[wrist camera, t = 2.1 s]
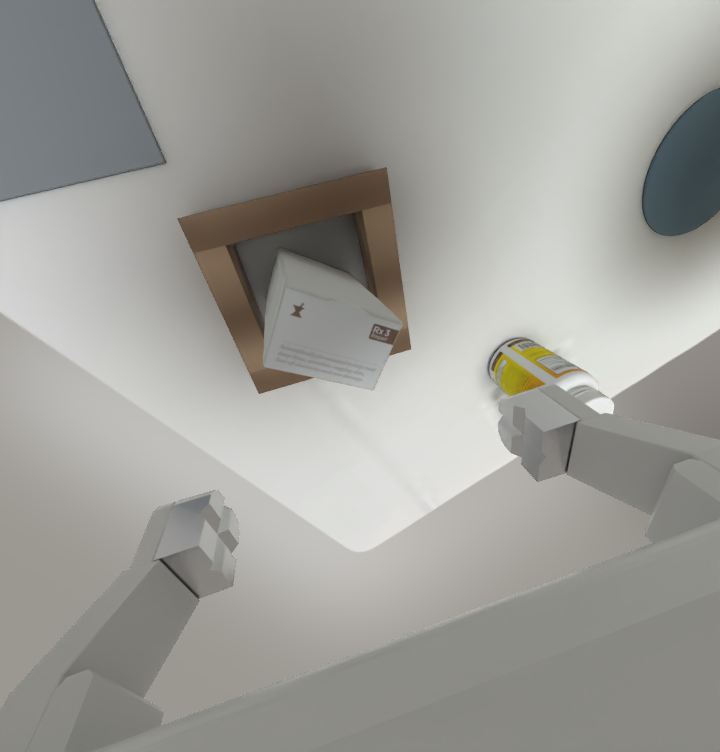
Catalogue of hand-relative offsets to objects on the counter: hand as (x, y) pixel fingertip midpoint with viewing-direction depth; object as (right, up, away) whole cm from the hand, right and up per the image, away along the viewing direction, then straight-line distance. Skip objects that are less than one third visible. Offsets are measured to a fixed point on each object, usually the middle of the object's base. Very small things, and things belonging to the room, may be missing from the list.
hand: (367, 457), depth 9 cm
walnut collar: (-4, +10, +16) cm, 19 cm away
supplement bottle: (+16, +4, +25) cm, 30 cm away
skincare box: (-4, +10, +16) cm, 20 cm away
